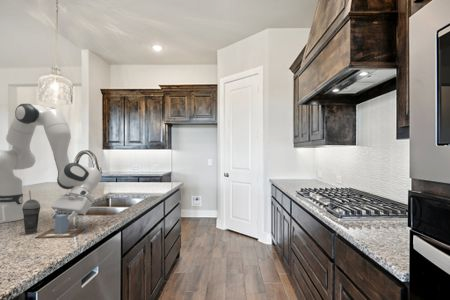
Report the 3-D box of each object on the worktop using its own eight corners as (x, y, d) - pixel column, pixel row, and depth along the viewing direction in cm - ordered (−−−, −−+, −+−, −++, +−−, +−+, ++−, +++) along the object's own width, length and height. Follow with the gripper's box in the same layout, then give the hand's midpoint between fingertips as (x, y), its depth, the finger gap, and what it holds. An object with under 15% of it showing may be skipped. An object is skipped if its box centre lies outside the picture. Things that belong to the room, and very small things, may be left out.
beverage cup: (30, 235, 126) (31, 191, 127) (17, 234, 128) (18, 191, 128) (43, 230, 134) (44, 189, 134) (31, 229, 135) (32, 189, 135)
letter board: (35, 238, 122) (35, 237, 122) (50, 229, 136) (50, 228, 136) (73, 237, 124) (73, 236, 124) (85, 228, 138) (85, 227, 138)
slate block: (60, 233, 127) (61, 216, 127) (54, 232, 129) (54, 215, 129) (68, 231, 131) (68, 214, 131) (62, 230, 132) (62, 214, 132)
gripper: (59, 190, 140) (40, 213, 131) (90, 192, 133) (72, 217, 124) (67, 197, 144) (49, 220, 135) (97, 200, 137) (80, 224, 128)
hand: (60, 219), depth 129 cm, fingers open, 8 cm apart
